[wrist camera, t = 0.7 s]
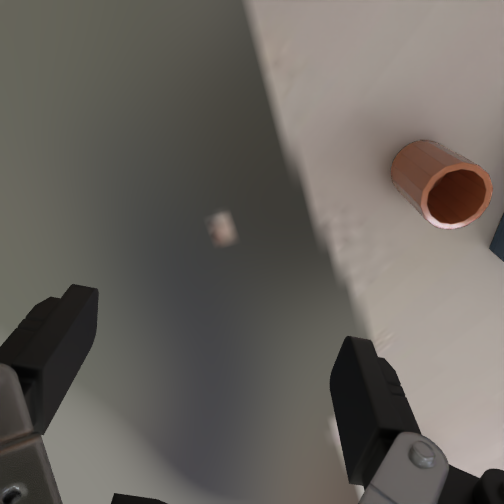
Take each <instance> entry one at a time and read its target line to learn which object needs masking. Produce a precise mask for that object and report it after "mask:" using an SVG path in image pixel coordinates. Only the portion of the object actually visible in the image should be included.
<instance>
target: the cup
mask: <svg viewBox="0 0 504 504" xmlns="http://www.w3.org/2000/svg"><path fill="white" fill-rule="evenodd" d="M391 179H392V182H393V184H394V186H395V187H396V188H397V190H398V191H399V192H400V193H401V194H402V195H403V196H404V197H405V198H406V199H407V201H408V202H409V203H410V204H411V205H412V206H413V207H414V208H415V209H416V210H417V211H418V212H419V213H420V214H421V215H422V216H423V217H424V218H425V219H426V220H427V221H428V222H429V223H431V224H432V225H433V226H435V227H437V228H443V229H448V230H451V229H456V228H460V227H464V226H467V225H468V224H470V223H471V222H473V221H474V220H476V219H477V218H479V217H480V216H481V215H482V213H483V212H484V211H485V209H486V208H487V206H488V205H489V203H490V200H491V195H492V191H493V186H492V183H491V179H490V176H489V174H488V173H487V172H486V171H485V170H483V169H482V168H481V167H480V166H479V165H477V164H475V163H473V162H472V161H470V160H468V159H466V158H464V157H463V156H461V155H459V154H457V153H455V152H454V151H452V150H450V149H448V148H446V147H445V146H443V145H441V144H439V143H436V142H433V141H429V140H420V141H416V142H413V143H411V144H409V145H407V146H405V147H404V148H403V149H402V150H401V151H400V152H399V153H398V154H397V155H396V157H395V159H394V161H393V163H392V167H391Z"/></svg>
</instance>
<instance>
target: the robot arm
mask: <svg viewBox="0 0 504 504" xmlns="http://www.w3.org/2000/svg"><path fill="white" fill-rule="evenodd" d="M97 312H98V289H97V288H91V287H86V286H80V285H75V284H72V285H71V286H70V287H69V288H68V290H67V291H66V292H65V293H64V295H63V296H62V298H61V299H60V298H54V297H49V298H47V299H46V300H44V301H42V302H40V303H39V304H37V305H35V306H34V307H33V309H32V310H31V311H30V312H29V313H28V315H27V316H26V318H25V319H23V320H22V322H21V323H20V324H19V325H18V328H16V329H15V330H14V331H13V333H12V334H11V335H10V336H9V337H8V339H7V340H6V341H5V342H4V343H3V344H2V346H1V347H0V504H63V503H62V500H61V497H60V494H59V491H58V488H57V484H56V481H55V478H54V475H53V472H52V469H51V465H50V462H49V459H48V456H47V453H46V450H45V447H44V444H43V440H42V438H41V435H44V433H45V431H46V429H47V428H48V426H49V424H50V422H51V420H52V419H53V417H54V415H55V413H56V411H57V409H58V408H59V406H60V404H61V402H62V400H63V398H64V397H65V395H66V393H67V391H68V389H69V387H70V386H71V384H72V382H73V380H74V378H75V376H76V375H77V373H78V371H79V369H80V367H81V365H82V364H83V362H84V360H85V358H86V356H87V354H88V353H89V351H90V349H91V347H92V344H93V342H94V338H95V335H96V329H97ZM330 392H331V397H332V402H333V407H334V412H335V417H336V421H337V426H338V431H339V436H340V441H341V446H342V451H343V456H344V460H345V465H346V470H347V475H348V480H349V484H355V485H362V486H364V490H365V492H364V494H363V495H362V497H361V499H360V501H359V502H358V504H504V471H503V470H500V469H489V470H486V471H485V472H484V474H483V475H482V476H481V478H478V477H476V476H473V475H471V474H469V473H467V472H464V471H462V470H460V469H458V468H455V467H453V466H451V465H449V464H448V461H447V458H446V456H445V455H444V453H443V452H442V450H441V449H440V448H439V447H438V446H437V445H436V444H435V443H434V442H432V441H431V440H430V439H428V438H427V437H425V436H423V435H422V434H421V432H420V429H419V427H418V424H417V422H416V420H415V417H414V415H413V412H412V410H411V408H410V405H409V403H408V400H407V398H406V397H405V393H404V391H403V388H402V386H400V381H399V379H398V376H397V374H396V371H395V370H394V369H393V368H392V366H391V365H390V364H389V363H388V362H387V361H386V360H385V358H380V357H378V356H377V354H376V351H375V348H374V346H373V343H372V341H371V340H368V339H363V338H357V337H352V336H347V337H346V338H345V339H344V342H343V344H342V347H341V349H340V352H339V354H338V357H337V359H336V361H335V364H334V366H333V369H332V372H331V376H330ZM111 504H167V503H165V502H162V501H160V500H157V499H152V498H144V497H138V496H130V495H124V494H117V493H114V496H113V499H112V502H111Z"/></svg>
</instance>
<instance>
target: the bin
mask: <svg viewBox="0 0 504 504" xmlns="http://www.w3.org/2000/svg"><path fill="white" fill-rule="evenodd" d="M489 249H490V250H491V251H492V252H493V253H494V254H496V255H497V256H498V257H499V258H500V259H501V260H502V261H503V262H504V214H503V216H502V219H501V221H500V223H499V226H498V228H497V231H496V233H495V236H494V238H493V240H492V243H491V245H490V248H489Z"/></svg>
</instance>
